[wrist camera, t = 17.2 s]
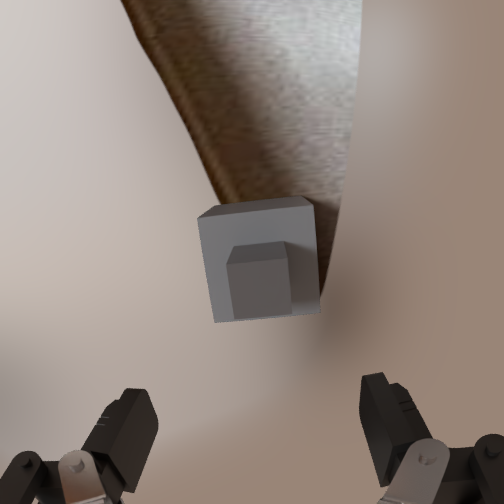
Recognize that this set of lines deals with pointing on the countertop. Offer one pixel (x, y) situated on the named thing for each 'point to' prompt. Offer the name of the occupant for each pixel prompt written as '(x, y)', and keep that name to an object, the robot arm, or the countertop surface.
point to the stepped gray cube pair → (261, 259)
